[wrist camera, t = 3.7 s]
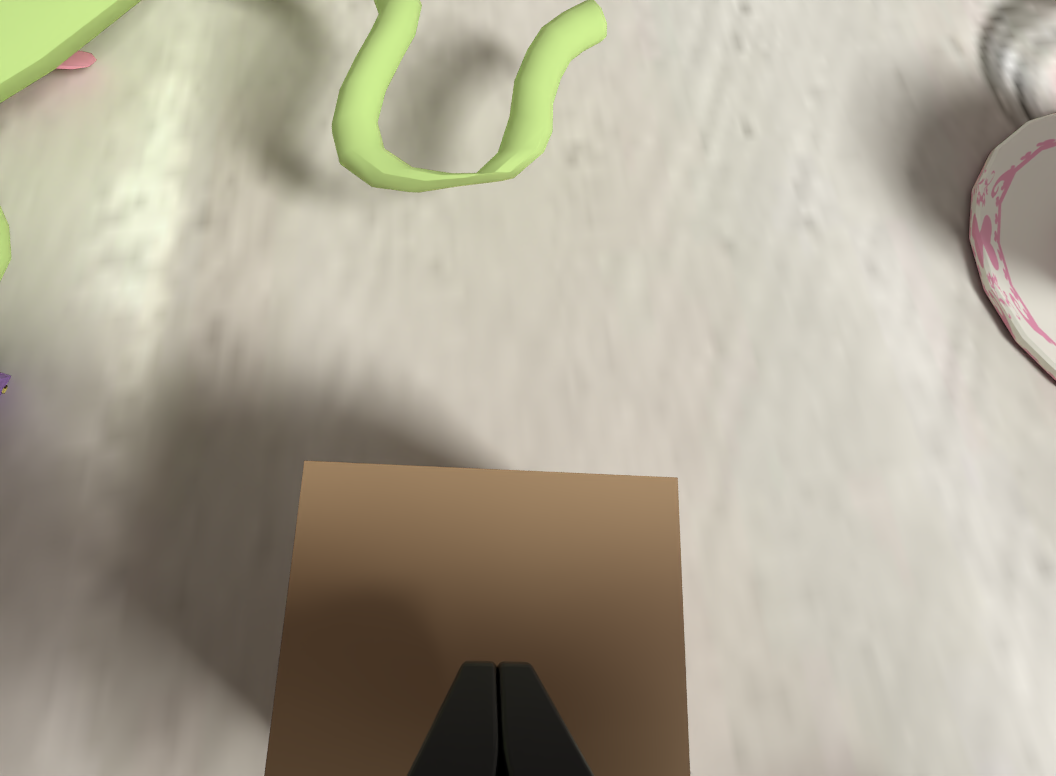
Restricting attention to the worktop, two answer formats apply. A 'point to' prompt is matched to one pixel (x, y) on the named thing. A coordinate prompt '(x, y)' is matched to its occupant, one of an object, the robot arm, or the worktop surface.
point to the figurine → (95, 3)
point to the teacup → (1020, 236)
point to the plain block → (479, 612)
